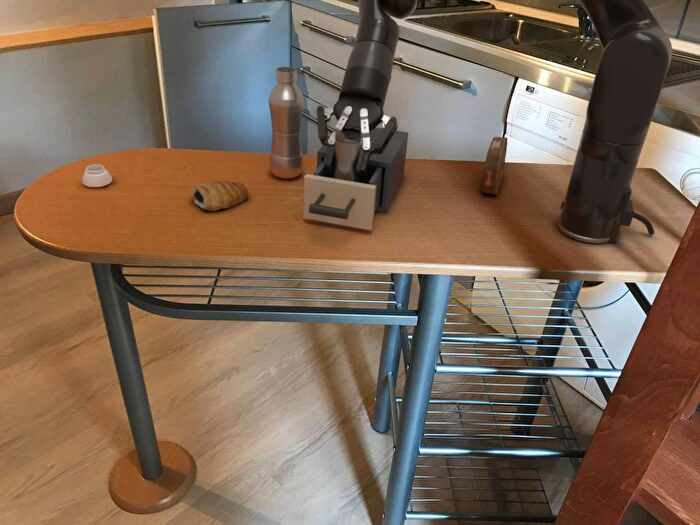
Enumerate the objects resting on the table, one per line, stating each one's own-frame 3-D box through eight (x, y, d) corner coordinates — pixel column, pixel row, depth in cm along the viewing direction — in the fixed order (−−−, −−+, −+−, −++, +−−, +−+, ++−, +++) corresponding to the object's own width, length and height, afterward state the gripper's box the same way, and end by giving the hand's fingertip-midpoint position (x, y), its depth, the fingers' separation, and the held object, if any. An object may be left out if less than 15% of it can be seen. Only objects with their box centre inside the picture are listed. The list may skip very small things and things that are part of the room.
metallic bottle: (306, 169, 121) (307, 66, 110) (300, 184, 115) (301, 76, 105) (273, 166, 121) (272, 63, 111) (266, 181, 116) (263, 73, 105)
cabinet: (385, 213, 107) (390, 163, 102) (315, 201, 110) (317, 151, 105) (403, 178, 120) (408, 132, 115) (340, 167, 123) (342, 122, 118)
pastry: (236, 188, 112) (235, 168, 110) (256, 202, 108) (255, 182, 106) (188, 200, 107) (186, 180, 105) (207, 216, 103) (205, 195, 101)
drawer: (362, 248, 95) (365, 204, 91) (291, 234, 97) (291, 191, 93) (390, 193, 112) (394, 155, 108) (329, 183, 114) (330, 145, 110)
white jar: (78, 181, 111) (88, 191, 108) (75, 165, 110) (85, 175, 107) (106, 175, 114) (116, 185, 111) (104, 160, 113) (114, 169, 109)
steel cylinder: (361, 186, 104) (365, 132, 99) (354, 197, 101) (358, 141, 96) (336, 182, 105) (339, 128, 100) (329, 192, 102) (331, 137, 96)
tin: (494, 202, 113) (502, 159, 109) (477, 198, 114) (484, 156, 110) (504, 171, 126) (512, 132, 121) (488, 169, 126) (496, 129, 122)
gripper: (322, 58, 100) (296, 155, 97) (408, 70, 98) (384, 170, 94) (330, 82, 108) (306, 173, 104) (410, 94, 105) (389, 187, 101)
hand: (343, 171), depth 99 cm, fingers closed on steel cylinder, 4 cm apart
